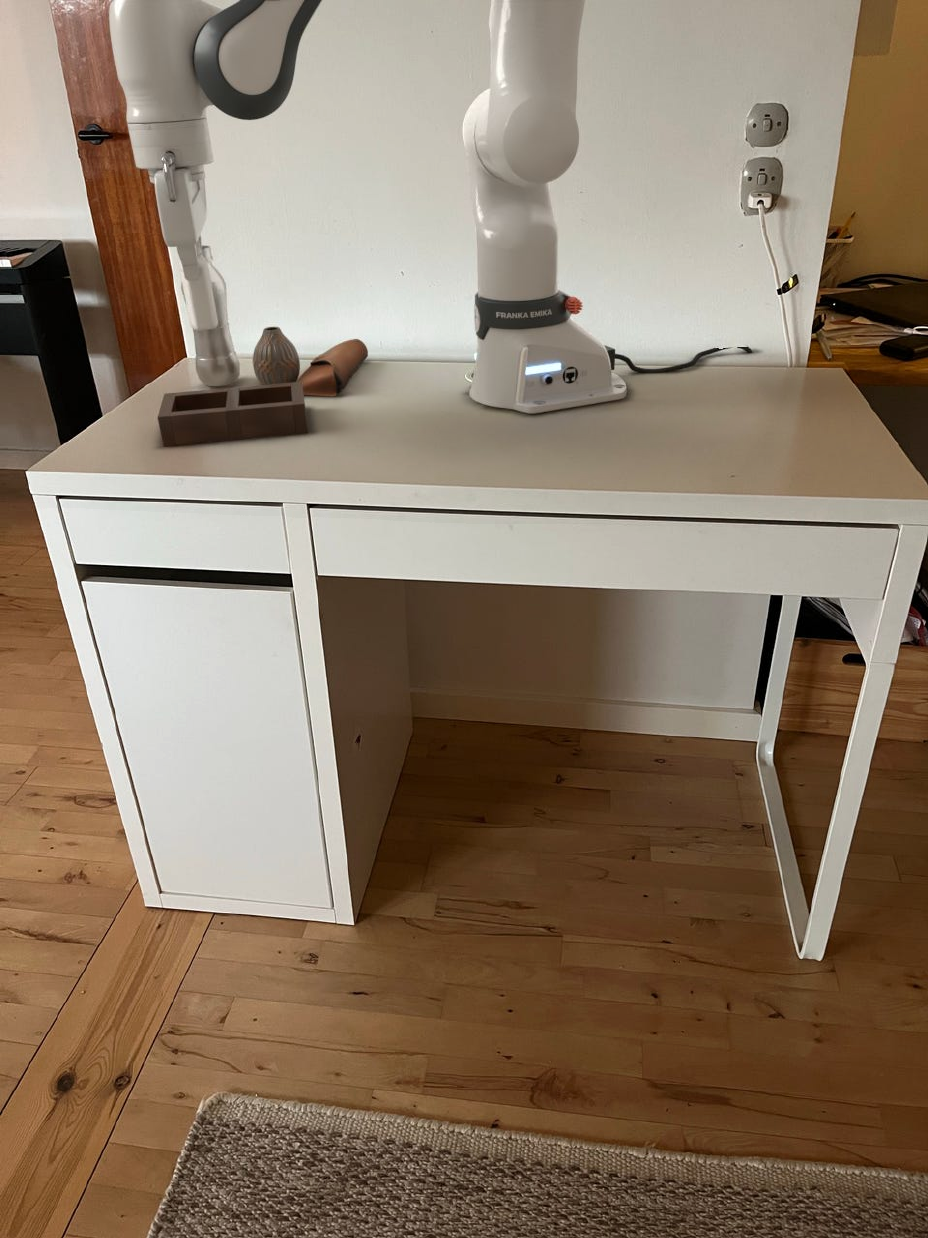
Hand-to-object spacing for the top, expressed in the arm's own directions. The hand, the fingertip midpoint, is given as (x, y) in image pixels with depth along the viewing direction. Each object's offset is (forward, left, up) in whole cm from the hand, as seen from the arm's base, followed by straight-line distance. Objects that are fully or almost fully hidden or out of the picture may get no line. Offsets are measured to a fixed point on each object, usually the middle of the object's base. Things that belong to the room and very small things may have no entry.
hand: (195, 273), depth 118 cm
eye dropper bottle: (0, 0, -7) cm, 6 cm away
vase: (-8, -19, -21) cm, 29 cm away
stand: (-2, -2, -21) cm, 21 cm away
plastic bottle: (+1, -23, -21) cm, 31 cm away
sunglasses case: (-16, -21, -21) cm, 34 cm away
